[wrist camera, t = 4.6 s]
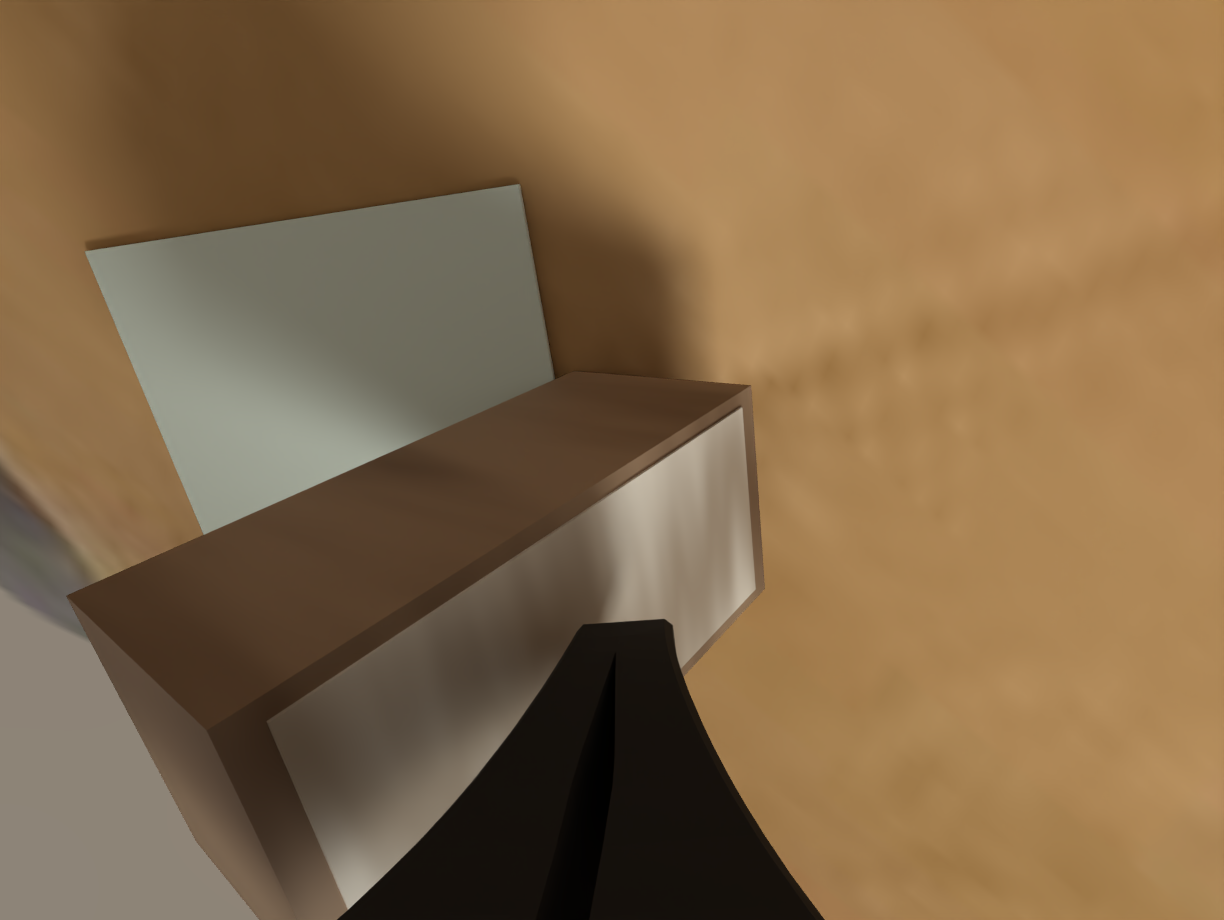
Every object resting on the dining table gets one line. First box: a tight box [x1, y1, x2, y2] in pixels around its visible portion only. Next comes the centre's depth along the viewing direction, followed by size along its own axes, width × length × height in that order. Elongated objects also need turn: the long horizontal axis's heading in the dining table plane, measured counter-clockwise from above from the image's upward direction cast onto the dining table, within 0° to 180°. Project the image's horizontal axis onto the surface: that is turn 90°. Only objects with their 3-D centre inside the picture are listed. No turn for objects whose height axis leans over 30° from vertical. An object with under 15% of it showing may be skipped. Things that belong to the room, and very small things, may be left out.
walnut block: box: [66, 371, 765, 920], centre depth 13 cm, size 5×5×11 cm
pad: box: [85, 184, 555, 535], centre depth 19 cm, size 14×11×1 cm
